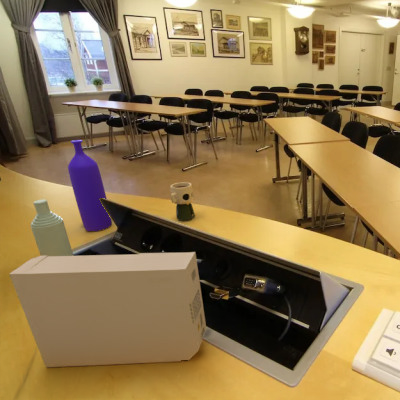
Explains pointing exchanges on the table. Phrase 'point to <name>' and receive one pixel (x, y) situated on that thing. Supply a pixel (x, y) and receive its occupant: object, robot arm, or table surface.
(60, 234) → the water bottle
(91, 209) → the bottle
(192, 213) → the character mug
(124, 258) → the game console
